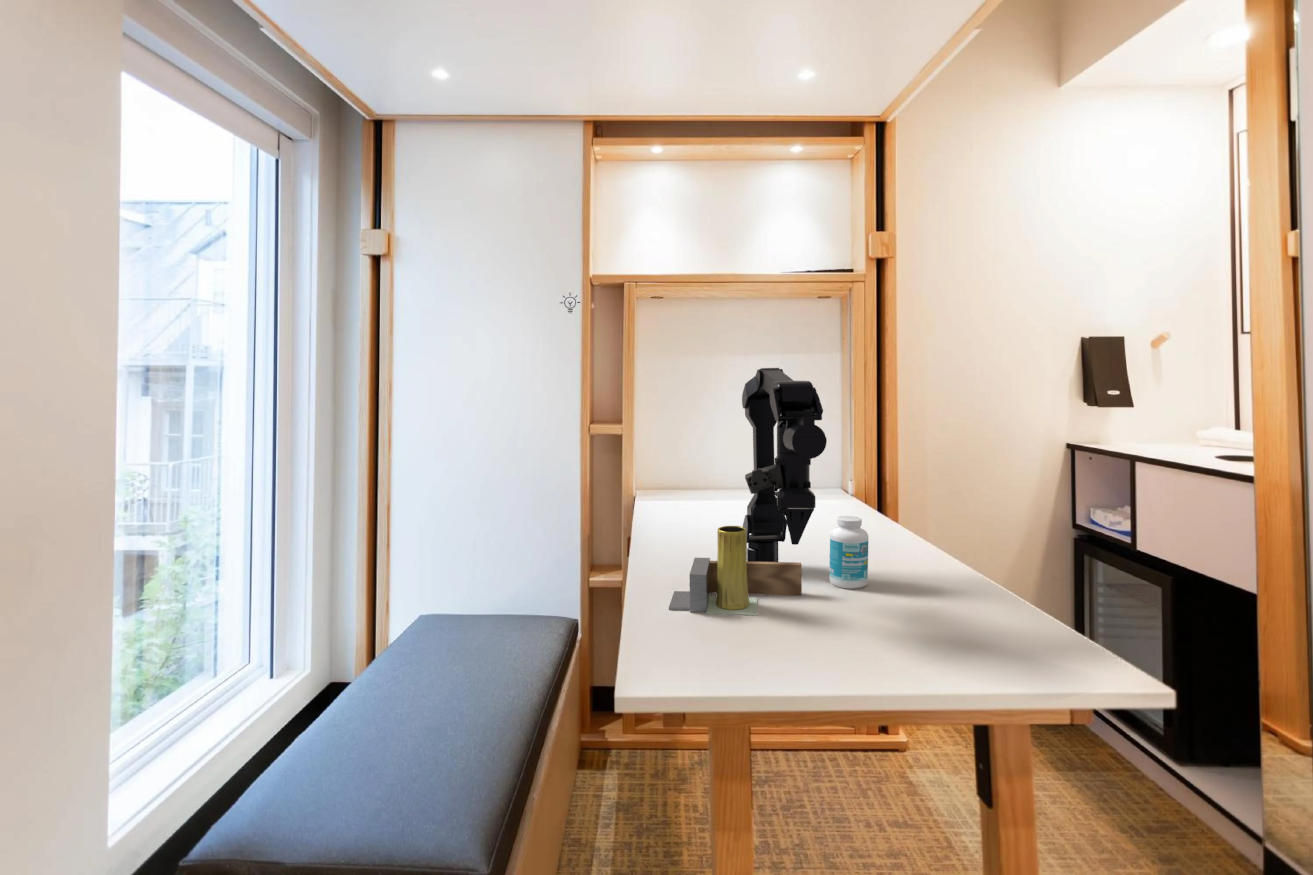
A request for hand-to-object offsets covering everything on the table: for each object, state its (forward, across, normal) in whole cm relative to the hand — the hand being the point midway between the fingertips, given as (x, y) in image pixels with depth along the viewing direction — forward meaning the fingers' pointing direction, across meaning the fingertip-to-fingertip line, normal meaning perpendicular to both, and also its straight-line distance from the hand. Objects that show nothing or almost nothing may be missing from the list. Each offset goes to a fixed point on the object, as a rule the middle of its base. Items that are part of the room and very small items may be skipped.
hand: (793, 537), depth 120 cm
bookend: (+13, -1, -19) cm, 23 cm away
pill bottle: (+13, -15, +12) cm, 23 cm away
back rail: (+13, -8, -8) cm, 17 cm away
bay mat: (+13, 0, -11) cm, 17 cm away
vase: (+13, 0, -11) cm, 17 cm away
